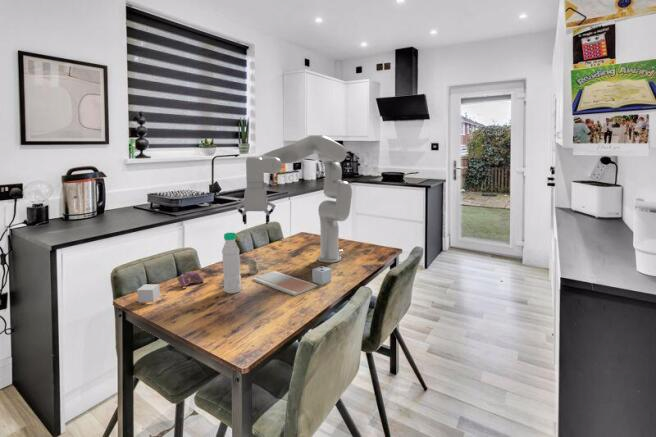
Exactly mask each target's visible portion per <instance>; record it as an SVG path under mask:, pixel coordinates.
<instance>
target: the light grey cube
mask: <svg viewBox="0 0 656 437" xmlns="http://www.w3.org/2000/svg"><path fill="white" fill-rule="evenodd" d="M160 288H161V287H160V284H157V283H156V284H153V283H152V284H150V283H149V284H145V283H144V284H142V285H141V286H140V287H139V288H138V289H136V290H137V291H136V293H137V302H154V301H155V300H156V299H157V298H158V297H160V298H161V292H160V291H161V289H160Z"/></svg>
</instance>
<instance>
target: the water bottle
mask: <svg viewBox="0 0 656 437" xmlns="http://www.w3.org/2000/svg"><path fill="white" fill-rule="evenodd" d="M236 238H237V235H236V233H235V232H226V233H224V235H223V239H224V244H223V247H222V249H221V254H222V270H223V271H222V272H223V283H224V284H223V291H224V292H225V293H226V292H227V294H236V293H239V292H240V291H241V290H242V283H241V280H242V278H241V261H240V260H241V259H240V258H241V257H240V248H239V246H238V244H237V242H236V240H237V239H236Z"/></svg>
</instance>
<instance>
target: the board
mask: <svg viewBox="0 0 656 437" xmlns="http://www.w3.org/2000/svg"><path fill="white" fill-rule="evenodd" d="M252 281H254V282H257V283H259V284H263V285H264V286H267V287H270V288H273V289H276V290H278V291H281V292H284V293H286V294H289V295H290V296H294V297H296V296H298V295H300V294H304V293H305V292H308V291H311V290H313V289H316V288H317V287H318V286H317V283H314V282H313V283H312V282H309V281H306V280H303V279H300V278H298V277H294V276H290V275H288V274H284V273H281V272H280V271H277V270H276V271H275V270H273V271H270V272H266V273H263V274H261V275H257V276H255V277H253V278H252Z"/></svg>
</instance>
